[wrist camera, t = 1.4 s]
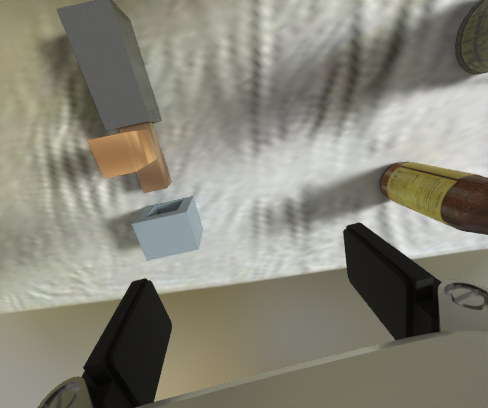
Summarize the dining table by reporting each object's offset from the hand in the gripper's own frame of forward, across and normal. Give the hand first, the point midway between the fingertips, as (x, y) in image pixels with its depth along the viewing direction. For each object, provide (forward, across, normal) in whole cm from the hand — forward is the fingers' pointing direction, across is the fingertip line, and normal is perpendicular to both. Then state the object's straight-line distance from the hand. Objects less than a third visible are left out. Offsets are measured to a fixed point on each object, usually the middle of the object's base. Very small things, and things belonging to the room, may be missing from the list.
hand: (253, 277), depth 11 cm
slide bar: (+23, +10, -10) cm, 27 cm away
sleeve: (+24, +10, -15) cm, 29 cm away
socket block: (+24, +10, +5) cm, 26 cm away
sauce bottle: (+24, -25, +8) cm, 35 cm away
